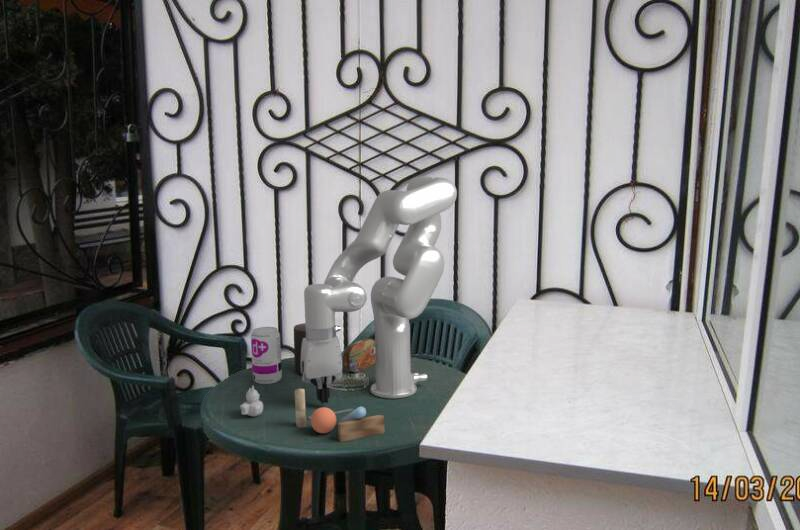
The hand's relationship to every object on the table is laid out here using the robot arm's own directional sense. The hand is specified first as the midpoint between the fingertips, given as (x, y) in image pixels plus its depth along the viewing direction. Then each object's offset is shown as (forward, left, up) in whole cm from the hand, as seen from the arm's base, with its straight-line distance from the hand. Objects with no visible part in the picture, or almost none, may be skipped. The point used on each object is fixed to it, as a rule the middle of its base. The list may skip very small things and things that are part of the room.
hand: (323, 401), depth 186 cm
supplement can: (+7, -28, -2) cm, 29 cm away
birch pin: (+9, +9, -2) cm, 13 cm away
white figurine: (+18, -3, -2) cm, 18 cm away
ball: (+6, +16, +2) cm, 17 cm away
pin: (0, +15, 0) cm, 15 cm away
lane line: (0, +6, -2) cm, 6 cm away
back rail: (-2, +22, -2) cm, 22 cm away
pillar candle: (-7, -30, -2) cm, 31 cm away
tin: (-21, -25, -2) cm, 33 cm away
